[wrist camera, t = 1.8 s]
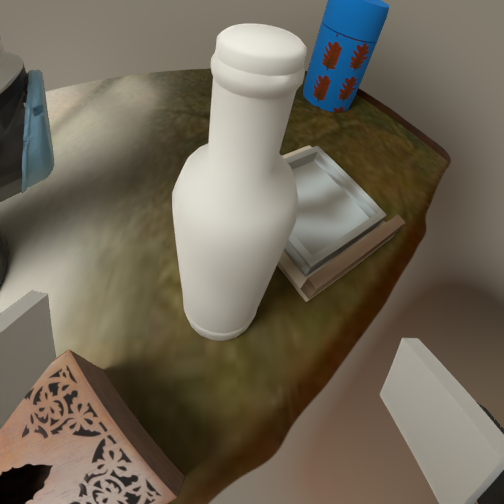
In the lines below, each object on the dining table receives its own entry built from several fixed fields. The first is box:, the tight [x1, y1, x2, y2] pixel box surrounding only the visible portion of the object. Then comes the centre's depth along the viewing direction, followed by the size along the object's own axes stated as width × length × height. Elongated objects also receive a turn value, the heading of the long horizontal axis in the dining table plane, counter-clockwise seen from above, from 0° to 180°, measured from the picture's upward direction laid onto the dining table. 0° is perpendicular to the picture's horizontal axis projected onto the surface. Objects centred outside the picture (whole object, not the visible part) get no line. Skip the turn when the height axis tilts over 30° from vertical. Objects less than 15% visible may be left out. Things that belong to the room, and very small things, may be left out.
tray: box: [277, 146, 405, 302], centre depth 43 cm, size 20×18×4 cm
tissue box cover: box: [0, 350, 185, 504], centre depth 19 cm, size 26×14×10 cm, turn 131°
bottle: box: [172, 24, 307, 341], centre depth 23 cm, size 8×8×30 cm
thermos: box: [303, 0, 389, 113], centre depth 51 cm, size 11×11×25 cm
